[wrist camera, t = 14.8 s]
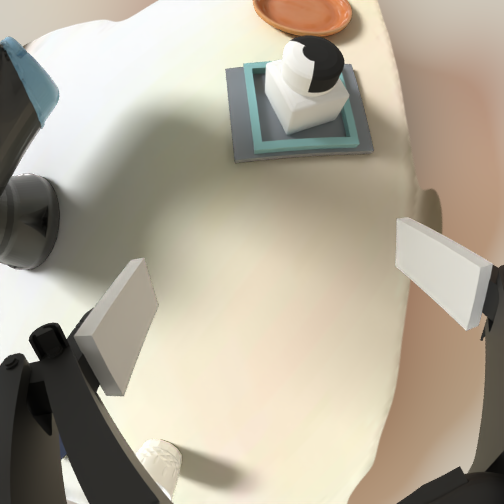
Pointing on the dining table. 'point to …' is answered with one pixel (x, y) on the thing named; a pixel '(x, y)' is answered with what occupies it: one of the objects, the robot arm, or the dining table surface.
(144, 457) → the white cup
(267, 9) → the saucer
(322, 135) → the dock
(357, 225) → the dining table surface
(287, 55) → the medicine bottle
